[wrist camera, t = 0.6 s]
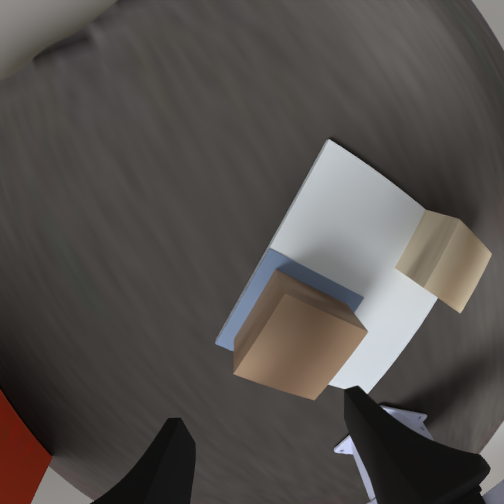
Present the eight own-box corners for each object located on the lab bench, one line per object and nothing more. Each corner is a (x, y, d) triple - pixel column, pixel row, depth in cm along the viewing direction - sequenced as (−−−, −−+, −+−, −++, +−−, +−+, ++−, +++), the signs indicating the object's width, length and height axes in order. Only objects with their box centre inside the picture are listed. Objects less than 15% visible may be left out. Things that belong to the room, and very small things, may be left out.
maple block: (460, 240, 19) (491, 254, 15) (432, 292, 20) (460, 313, 16) (425, 209, 18) (459, 219, 14) (394, 267, 19) (423, 287, 15)
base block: (346, 304, 20) (368, 331, 16) (303, 365, 21) (314, 400, 17) (275, 268, 19) (284, 293, 15) (233, 339, 20) (233, 373, 16)
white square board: (461, 244, 20) (466, 246, 19) (364, 391, 23) (366, 395, 22) (326, 140, 17) (329, 139, 17) (215, 338, 21) (215, 343, 20)
